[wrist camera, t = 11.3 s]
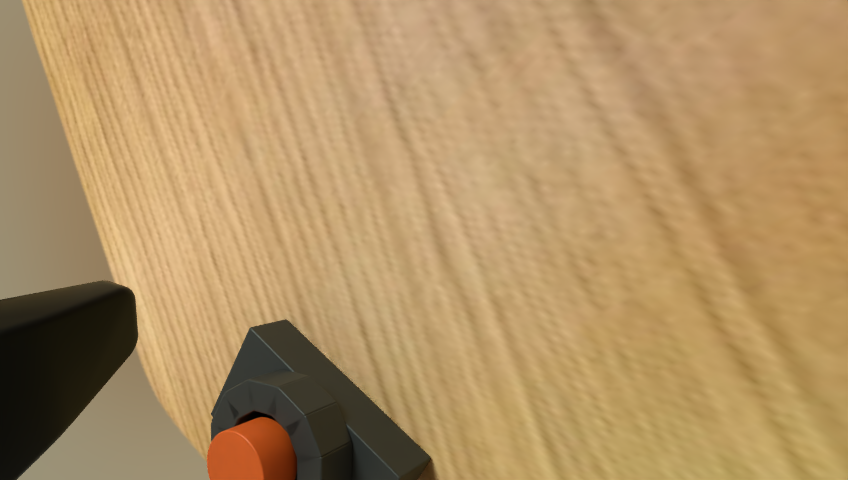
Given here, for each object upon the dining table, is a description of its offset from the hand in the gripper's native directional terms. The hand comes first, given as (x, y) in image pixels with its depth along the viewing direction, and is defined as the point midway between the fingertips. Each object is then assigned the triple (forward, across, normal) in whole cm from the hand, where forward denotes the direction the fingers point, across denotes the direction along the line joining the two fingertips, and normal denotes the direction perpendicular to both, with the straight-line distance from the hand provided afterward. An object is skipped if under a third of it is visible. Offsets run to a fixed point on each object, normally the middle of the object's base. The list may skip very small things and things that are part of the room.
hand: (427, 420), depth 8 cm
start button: (+10, +8, +14) cm, 19 cm away
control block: (+13, +7, +14) cm, 21 cm away
